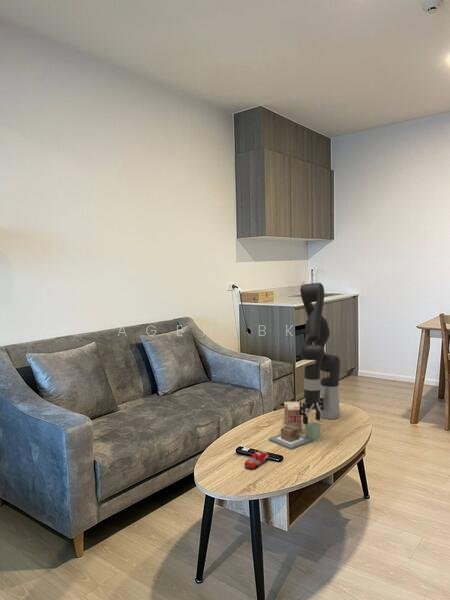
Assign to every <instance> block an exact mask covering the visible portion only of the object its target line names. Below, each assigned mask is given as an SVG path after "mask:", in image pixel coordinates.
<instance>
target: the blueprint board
mask: <svg viewBox="0 0 450 600" xmlns="http://www.w3.org/2000/svg"><path fill="white" fill-rule="evenodd" d="M268 441H270V442H272V443H273V444H276V445H278V446H281V447H283V448H286V449H288V450H290V451H293V450H294V449H297V448H299V447H303V446H304V445H307V444H310V443H312V442H313V441H312V439H309V438H307V437H305V435H304V436H303V435H301V434H300V433H299V428H297V427H294V426H291V425H288V426H287V425H286V426H283V427H280V434H277V435H273V436H271V437H269V438H268Z"/></svg>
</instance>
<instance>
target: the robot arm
mask: <svg viewBox="0 0 450 600" xmlns="http://www.w3.org/2000/svg"><path fill="white" fill-rule="evenodd" d="M299 290H300V297H301V300H302V303H303V306H304V310H305V312H306V316H307V319H306V322H305V325H304V327H305V329H304V334H305V335H304V340H303V343H302V346H301V349H300V357H301V359H302V360H304V361H315V362H314V363H311V364H307V365H305V366H304V378H303V379H304V380H303V398H304V402H302V401H300V402H299V405H300V411H299V414H300V415H301V417H302V423H303V425H305V424H306V425H307V424H308V423H309V422H308V421H309V414H310V413H311V412H312V411H313V410H314V411H315V420H316V421H321V418H323V419H327V420H336V419H338V418H339V417H340V398H339V393H340V391H339V381H340V373H341V371H340V369H341V360H340V357H339V356H338V355H333V354H327V353H326V349H325V346H326V344H327V342H328V341H329V337H330V336H331V335H330V328H329V323H328V321H327V320H326V318H325V317H324V316H323V315H322V314H323V308H324V301H325V288H324V285H323V284H322V283H321V282H315V283H314V282H313V283H305V284H302V285H301V286H300V289H299ZM313 303H315V306H314V304H313ZM312 343H313V344H312ZM321 372H324V373H325V372H326V373H329V376H325V377H323V378H321Z"/></svg>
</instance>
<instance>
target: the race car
mask: <svg viewBox="0 0 450 600" xmlns="http://www.w3.org/2000/svg"><path fill="white" fill-rule="evenodd" d="M248 457H249V458H248V459H247V460H246V461H245V462H244V468H246V469H249V470H257V469H258V468H260V467H261V466H262V465H264V464H265V463H267V462H268V461H269V459H270V454H269V453H268V452H266V451H260V450H259V451H256V452H253V454H252V455H251V456H248Z"/></svg>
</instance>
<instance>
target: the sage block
mask: <svg viewBox="0 0 450 600" xmlns="http://www.w3.org/2000/svg"><path fill="white" fill-rule="evenodd" d="M321 426H322V425H321V423H318V422H315V421H310V422H308V424H307V425H306V424H304V427H305V428H304V429H305V430H304V437H307V438H309V439H312V442H316V441H320V440H321V438H322V437H321V436H322V435H321V434H322V431H321V430H322V428H321Z"/></svg>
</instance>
